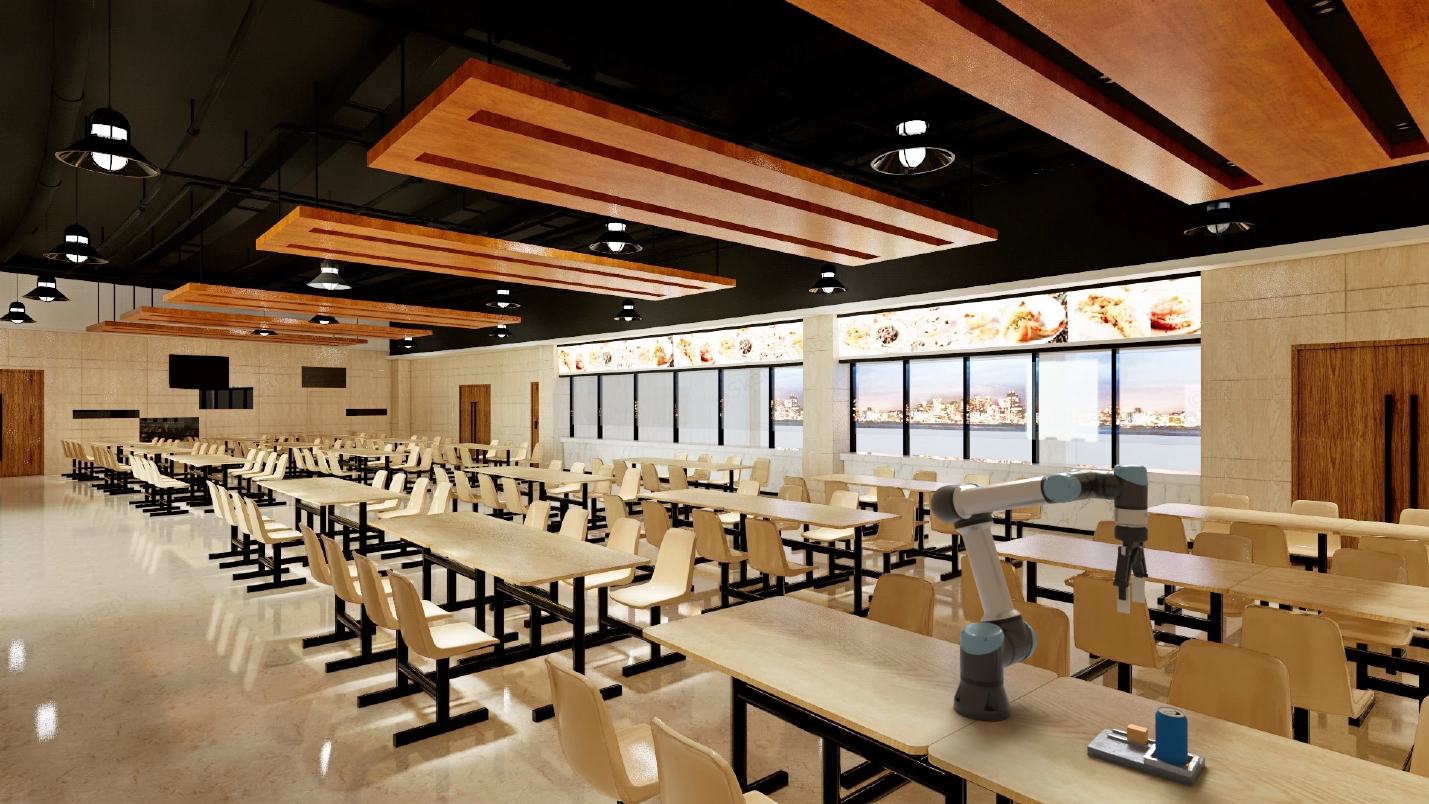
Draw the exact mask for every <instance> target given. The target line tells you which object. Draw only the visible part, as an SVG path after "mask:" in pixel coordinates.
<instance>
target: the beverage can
mask: <svg viewBox="0 0 1429 804" xmlns="http://www.w3.org/2000/svg"><path fill="white" fill-rule="evenodd" d="M1154 713H1155V714H1154V715H1155V716H1154V717H1155V718H1154V719H1155V725H1154V726H1155V727H1154V728H1155V729H1154V735H1155V737H1154V738H1155V739H1154V740H1155V756H1156V758H1157V759H1158V760H1161V761H1165V762H1168V763H1171V764H1175V765H1178V766H1181V767H1183V766H1184V765H1187V764H1188V753H1189V748H1188V747H1189V746H1188V745H1189V742H1188V741H1189V736H1188V735H1189V734H1188V732H1189V729H1188V728H1189V727H1188V725H1189V723H1188V722H1189V721H1188V720H1189V719H1188V718H1187V716H1186V712H1185V711H1183V710H1181V709H1179V708H1176V707H1171V706H1159V707H1157V710H1156V712H1154Z"/></svg>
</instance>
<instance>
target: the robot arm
mask: <svg viewBox="0 0 1429 804" xmlns="http://www.w3.org/2000/svg"><path fill="white" fill-rule="evenodd" d="M1148 491H1149V480H1148V471H1147V467H1145V466H1144V465H1140V464H1124V463H1123V464H1121V463H1120V464H1116V465H1114V467H1113V470H1112V471H1111V470H1109V471H1106V470H1095V469H1093V470H1092V469H1086V468H1073V469H1072V468H1071V469H1070V470H1069V471H1067V472H1065V471H1064V472H1057V473H1053V474H1049V475H1041V476H1036V477H1029V478H1024V479H1017V480H1012V481H1004V482H998V483H992V484H986V485H982V484H980V483H976V482H975V483H974V482H964V483H958V484H947V485H943V486H941V487H939V488H938V489H936V490H935V491H934V493H933V494H932V495H931V498H930V508H931V509H930V510H931V512H932V515H934V516H935V518H936V519H937V520H939V521H940V522H943V523H945V524H953V527H954V529H955V532H957V533H959V534H960V535H961V537H962V540H963V543H964V546H965V550H966V554H967V557H968V561H969V564H970V568H971V571H972V575H973V578H974V581H975V586H976V589H977V592H978V596H979V599H980V602H981V606H982V609H983V612H984V613H983V616H982V617H981V619H980V622H972V623H968V624H966V625H965V626H963V628H962V629H960V636H959V643H958V644H959V671H960V672H959V676H960V677H959V682H958V685H957V687H956V691H955V693H954V696H953V708H954V710H956V712H958V713H959V714H961V715H963V716H965V717H968V718H970V719H975V720H978V721H985V722H992V721H993V722H995V721H996V722H997V721H1003V720H1007V719H1008V718H1010V716H1011V703H1010V701H1009V697H1008V693H1007V692H1006V688H1005V685H1004V682H1005V679H1004V677H1005V676H1004V674H1005V673H1004V671H1005V670H1004V669H1005V668H1008V667H1010V666H1012V665H1015V664H1020V663H1022V662H1025V661H1026V660H1027V659H1028V658H1030V657H1031V656H1032V655H1033V654H1034V652H1035V650H1036V648H1037V635H1036V633H1035V631H1034V629H1033V627H1032V626H1031V625H1030V624H1029V623H1028V622H1027V621H1025V620H1024V619H1023V616H1022V613H1021V612H1020V611H1019V610H1017V609H1015V607H1014V604H1013V600H1012V598H1011V594H1010V592H1009V588H1008V584H1007V581H1006V577H1005V574H1004V570H1003V566H1002V564H1001V560H1000V557H999V553H998V550H997V547H996V544H995V543H996V542H995V540H994V537H993V534H992V531H991V528H992V526H993V525H994V519H993V516H992V514H993V513H994V512H1001V511H1006V510H1015V509H1021V508H1022V509H1024V508H1030V507H1037V506H1044V505H1045V506H1047V505H1052V504H1053V505H1054V504H1066V503H1071V502H1075V501H1083V500H1091V499H1097V500H1098V499H1099V500H1110V501H1113V503H1114V505H1113V506H1114V507H1113V512H1114V513H1113V522H1114V523H1115V525H1114V526H1113V528H1114V530H1113V531H1114V533H1113V534H1114V536H1113V537H1114V539H1116V540H1118V541H1121V542H1122V545H1119V546H1118V547H1117V559H1116V567H1115V568H1116V569H1115V572H1114V581H1113V582H1112V585H1113V587H1116V613H1123V614H1126V615H1127V614H1128V615H1129V614H1130V613H1131V601H1132V602H1134V603H1141V604H1145V601H1146V599H1145V598H1146V597H1145V596H1146V595H1145V592H1146V591H1145V590H1146V589H1145V580H1146V579H1148V578H1149V573H1148V569H1147V563H1146V557H1145V550H1144V544H1145V543H1146V542H1148V540H1149V527H1147V525H1148V523H1149V522H1148V521H1149V520H1148V519H1149V518H1150V517H1151V514H1150V513H1148V510H1149V508H1148V507H1149V506H1148V505H1149V503H1148V501H1149V499H1148V494H1149V492H1148ZM1132 574H1133V576H1131V575H1132ZM1131 577H1132V578H1131ZM1145 578H1146V579H1145ZM1130 579H1131V584H1132V585H1131V587H1132V588H1131V587H1130V586H1129V585H1130ZM1131 590H1132V591H1131ZM1131 594H1132V595H1131ZM1131 599H1132V600H1131Z"/></svg>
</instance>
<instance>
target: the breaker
mask: <svg viewBox="0 0 1429 804" xmlns="http://www.w3.org/2000/svg"><path fill="white" fill-rule="evenodd" d="M1126 732H1127V740H1131V741H1134V742H1138V743H1141V744H1145V745H1146V743H1147V742H1148V739H1149V728H1148V727H1144V726H1140V725H1136V724H1132V723H1129V724H1128V726H1127V727H1126Z"/></svg>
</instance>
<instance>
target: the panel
mask: <svg viewBox="0 0 1429 804" xmlns="http://www.w3.org/2000/svg"><path fill="white" fill-rule="evenodd" d="M1086 748H1087V749H1086V750H1087V751H1086V752H1087V755H1088V756H1091V757H1095V758H1098V759H1100V760H1104V761H1107V762H1110V763H1114V764H1116V765H1120V766H1123V767H1124V768H1125V767H1126V768H1129V769H1132V770H1136V771H1138V772H1140V773H1145V774H1148V775H1151V776H1154V777H1158V778H1161V779H1164V780H1167V781H1170V782H1173V783H1176V784H1180V785H1183V786H1185V787H1189V788H1193V786H1194V785H1195V784H1196V782H1197V780H1198V778H1199V776H1200V775H1201V773H1202V771H1203V769H1204V768H1205V767H1206V757H1205V756H1202V755H1199V754H1195V753H1192V752H1188V764H1187V765H1184V766H1183V767H1181V766H1178V765H1175V764H1171V763H1168V762H1165V761H1161V760H1158V759H1157V758H1156V756H1155V739H1154V740H1153V739H1150V738H1148V742H1147V743H1146V745H1145V744H1141V743H1138V742H1134V741H1131V740H1127V731H1122V730H1119V729H1116V728H1112V730H1111V729H1108V728H1104V729H1103V730H1102V731H1100V733H1099V734H1098V735H1097V736H1096V737H1094V739H1093V740H1091V742H1090V743H1088V745H1087V747H1086Z"/></svg>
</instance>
